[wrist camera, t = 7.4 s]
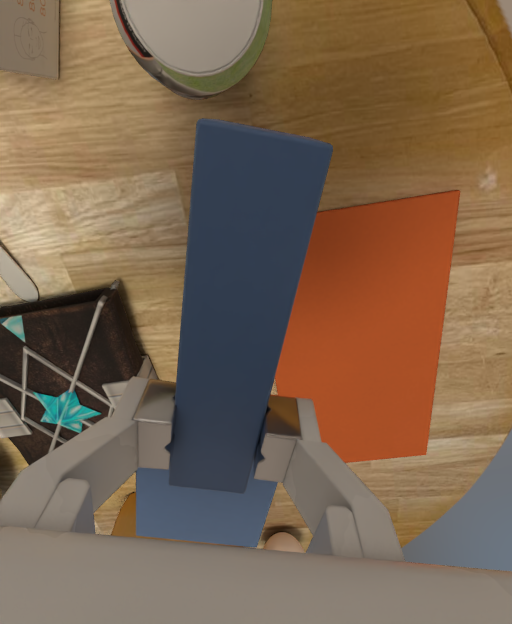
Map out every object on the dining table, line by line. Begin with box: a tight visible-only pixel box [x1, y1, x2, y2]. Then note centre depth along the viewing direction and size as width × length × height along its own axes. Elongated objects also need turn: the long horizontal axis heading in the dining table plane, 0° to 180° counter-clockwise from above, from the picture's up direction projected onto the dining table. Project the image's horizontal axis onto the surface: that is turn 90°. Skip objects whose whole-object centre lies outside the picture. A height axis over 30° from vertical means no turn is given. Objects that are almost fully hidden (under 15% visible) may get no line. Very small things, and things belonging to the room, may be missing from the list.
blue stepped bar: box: [136, 118, 333, 548], centre depth 11 cm, size 17×6×3 cm, turn 170°
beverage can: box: [110, 0, 272, 100], centre depth 16 cm, size 6×7×12 cm
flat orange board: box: [275, 190, 460, 463], centre depth 34 cm, size 30×16×1 cm, turn 9°
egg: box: [263, 532, 304, 553], centre depth 46 cm, size 6×6×8 cm
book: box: [0, 280, 158, 472], centre depth 33 cm, size 22×17×5 cm
